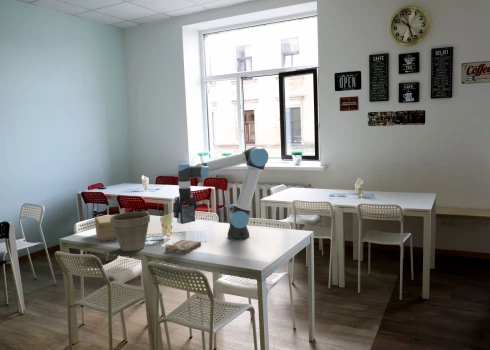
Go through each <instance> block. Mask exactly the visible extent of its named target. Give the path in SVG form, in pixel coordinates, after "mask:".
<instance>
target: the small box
mask: <svg viewBox="0 0 490 350" xmlns="http://www.w3.org/2000/svg"><path fill="white" fill-rule="evenodd" d="M179 213H180V219H181V223H180V225H183V224H189V223H192V222H196V210H194V205H189V204H185V205H184V204H183V205H182V207H181V208H180V212H179Z"/></svg>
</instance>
